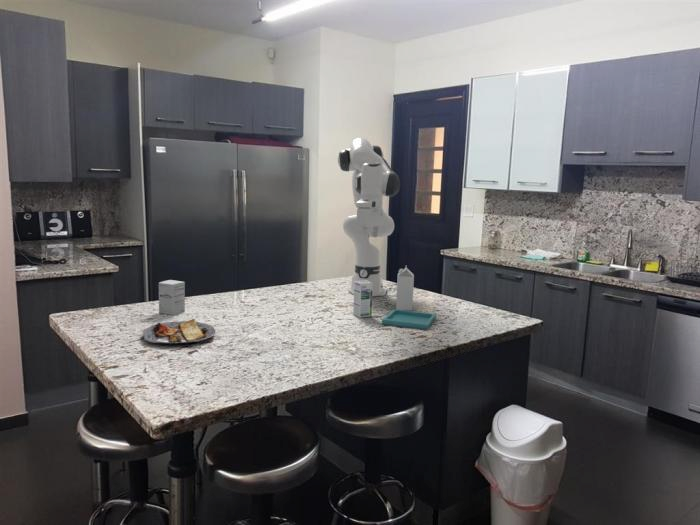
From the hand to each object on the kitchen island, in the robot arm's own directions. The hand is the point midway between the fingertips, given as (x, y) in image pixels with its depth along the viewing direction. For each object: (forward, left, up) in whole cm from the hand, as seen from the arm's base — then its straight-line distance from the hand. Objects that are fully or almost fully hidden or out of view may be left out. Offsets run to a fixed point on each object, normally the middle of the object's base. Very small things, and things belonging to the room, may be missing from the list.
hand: (370, 237), depth 216 cm
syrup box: (+1, -2, -33) cm, 33 cm away
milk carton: (-19, +11, -33) cm, 40 cm away
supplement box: (+31, -73, -33) cm, 86 cm away
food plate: (+56, -51, -33) cm, 82 cm away
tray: (+1, +18, -33) cm, 37 cm away
